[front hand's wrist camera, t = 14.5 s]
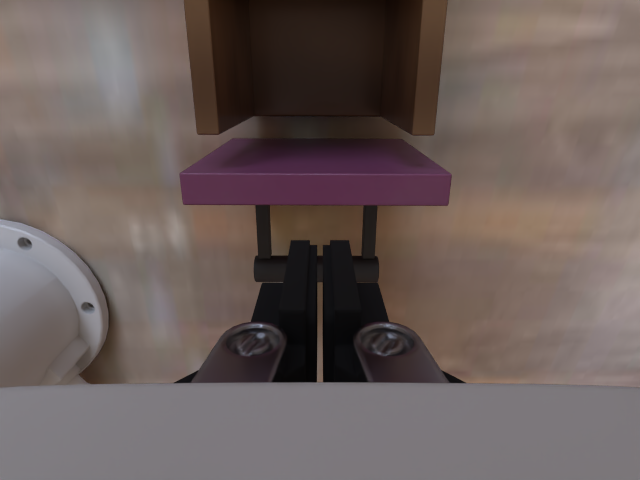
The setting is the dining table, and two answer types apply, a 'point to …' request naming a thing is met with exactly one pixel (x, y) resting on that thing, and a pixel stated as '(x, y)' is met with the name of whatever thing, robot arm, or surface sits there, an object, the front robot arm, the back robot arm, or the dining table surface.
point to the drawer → (315, 108)
